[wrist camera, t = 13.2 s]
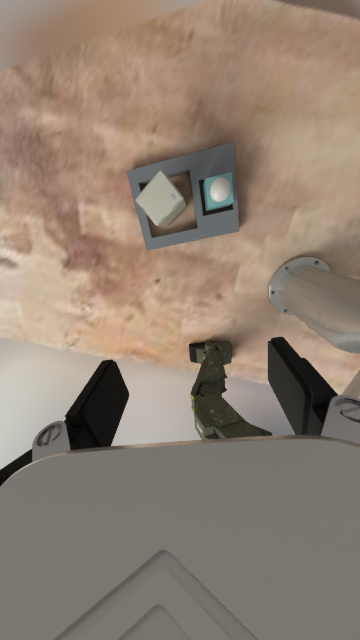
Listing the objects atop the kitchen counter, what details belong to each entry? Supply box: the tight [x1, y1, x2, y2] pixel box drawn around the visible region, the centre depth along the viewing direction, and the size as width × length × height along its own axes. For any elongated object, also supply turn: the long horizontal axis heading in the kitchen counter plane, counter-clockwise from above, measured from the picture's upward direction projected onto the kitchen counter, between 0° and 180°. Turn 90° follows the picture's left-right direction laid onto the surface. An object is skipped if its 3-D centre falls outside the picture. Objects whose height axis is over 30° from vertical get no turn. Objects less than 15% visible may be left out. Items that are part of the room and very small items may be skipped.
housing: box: [127, 142, 239, 250], centre depth 35 cm, size 18×13×2 cm
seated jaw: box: [203, 172, 234, 211], centre depth 32 cm, size 4×4×7 cm
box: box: [136, 170, 187, 226], centre depth 30 cm, size 5×4×13 cm
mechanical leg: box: [189, 341, 272, 440], centre depth 37 cm, size 14×7×30 cm, turn 94°
